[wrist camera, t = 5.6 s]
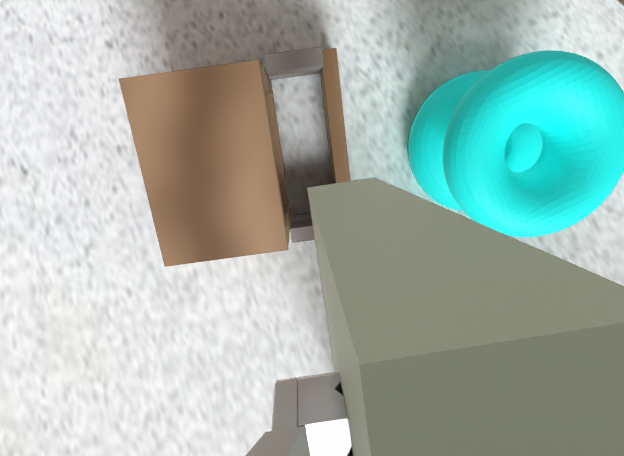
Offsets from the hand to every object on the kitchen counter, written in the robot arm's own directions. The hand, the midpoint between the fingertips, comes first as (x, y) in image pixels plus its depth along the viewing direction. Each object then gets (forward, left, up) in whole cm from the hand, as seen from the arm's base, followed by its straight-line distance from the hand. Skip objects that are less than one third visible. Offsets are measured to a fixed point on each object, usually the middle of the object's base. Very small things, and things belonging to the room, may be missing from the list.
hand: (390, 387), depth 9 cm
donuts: (-11, -3, -22) cm, 25 cm away
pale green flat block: (0, 0, -6) cm, 6 cm away
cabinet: (+4, -5, -22) cm, 23 cm away
